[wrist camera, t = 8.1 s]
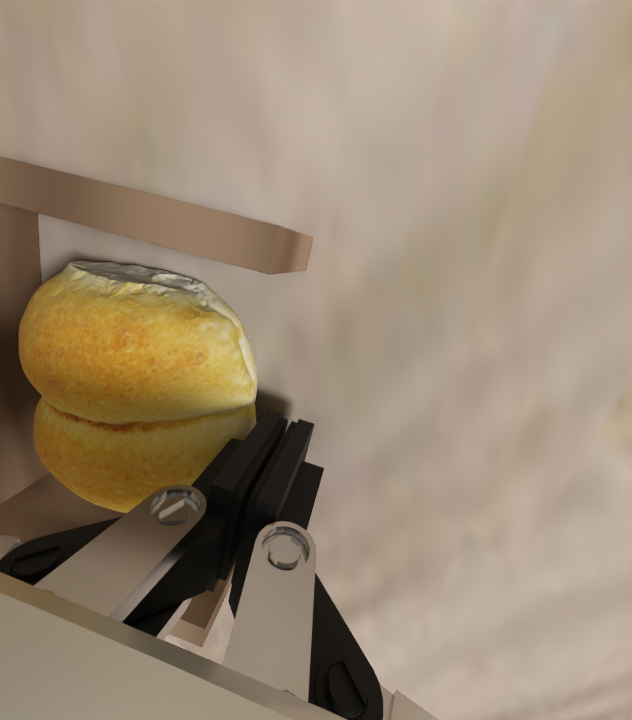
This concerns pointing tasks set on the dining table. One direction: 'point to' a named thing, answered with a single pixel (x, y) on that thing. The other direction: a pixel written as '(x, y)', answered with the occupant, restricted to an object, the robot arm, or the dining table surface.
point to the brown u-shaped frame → (22, 278)
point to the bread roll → (134, 379)
